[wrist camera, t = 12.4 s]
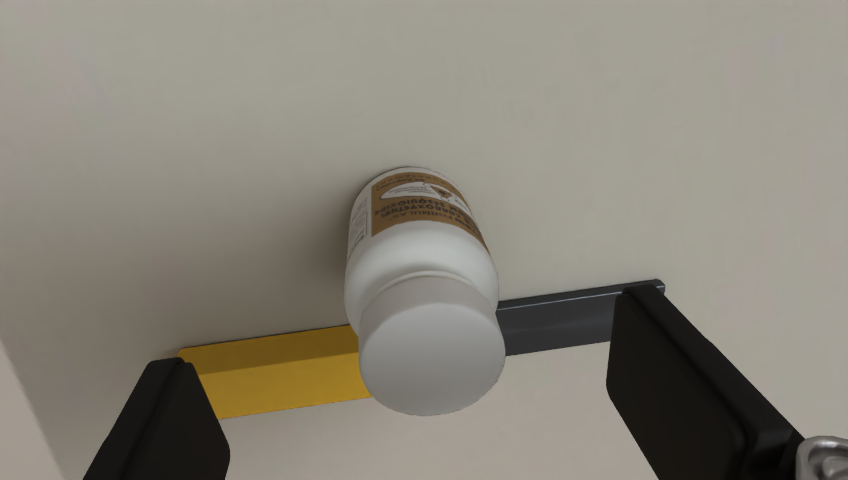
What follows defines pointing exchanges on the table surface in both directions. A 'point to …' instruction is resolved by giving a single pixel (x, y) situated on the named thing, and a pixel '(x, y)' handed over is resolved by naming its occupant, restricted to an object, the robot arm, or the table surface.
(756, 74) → the table surface
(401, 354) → the pill bottle
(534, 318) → the knife
